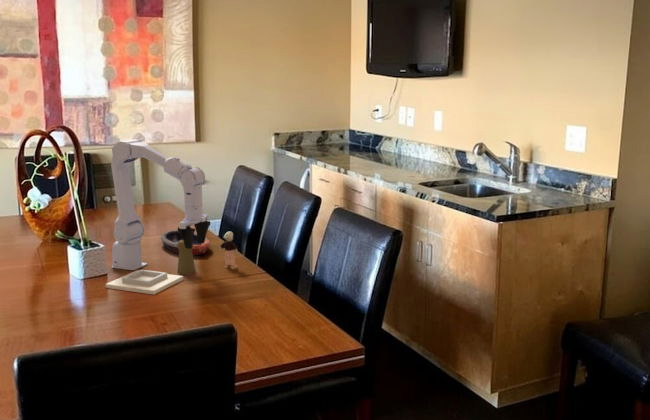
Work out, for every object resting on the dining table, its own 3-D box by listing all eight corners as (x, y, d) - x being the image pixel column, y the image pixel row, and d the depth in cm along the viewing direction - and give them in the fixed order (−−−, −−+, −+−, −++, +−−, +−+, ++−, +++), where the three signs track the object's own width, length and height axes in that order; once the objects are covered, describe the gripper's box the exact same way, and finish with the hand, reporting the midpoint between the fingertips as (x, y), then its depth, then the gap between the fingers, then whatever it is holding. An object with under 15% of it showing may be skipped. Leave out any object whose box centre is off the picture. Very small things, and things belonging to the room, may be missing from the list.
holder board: (105, 287, 213) (105, 279, 212) (137, 273, 227) (137, 265, 227) (154, 294, 206) (153, 286, 206) (183, 279, 221) (183, 271, 220)
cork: (191, 274, 226) (190, 242, 224) (174, 273, 227) (172, 241, 225) (198, 269, 232) (197, 238, 229) (181, 268, 233) (180, 237, 231)
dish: (190, 238, 276) (189, 226, 275) (220, 255, 250) (219, 242, 249) (152, 243, 268) (152, 230, 267) (180, 261, 242) (179, 248, 241)
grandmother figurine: (242, 266, 235) (241, 231, 232) (237, 269, 232) (236, 233, 229) (222, 264, 238) (221, 229, 235) (217, 267, 234) (215, 231, 231)
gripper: (191, 210, 213) (193, 252, 216) (215, 202, 226) (216, 241, 229) (172, 208, 216) (174, 249, 218) (197, 200, 229) (198, 239, 232)
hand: (195, 245), depth 224 cm, fingers open, 7 cm apart
